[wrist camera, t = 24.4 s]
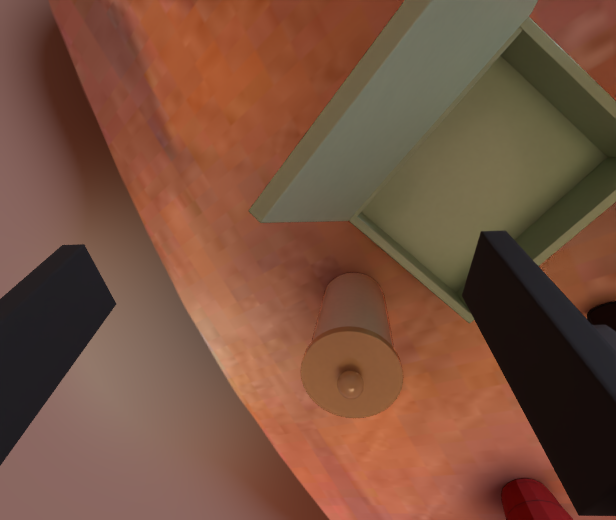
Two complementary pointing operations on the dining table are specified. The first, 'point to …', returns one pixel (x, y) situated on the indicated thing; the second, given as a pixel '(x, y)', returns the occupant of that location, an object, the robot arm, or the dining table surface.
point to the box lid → (387, 105)
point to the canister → (352, 351)
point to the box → (500, 167)
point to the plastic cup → (531, 502)
